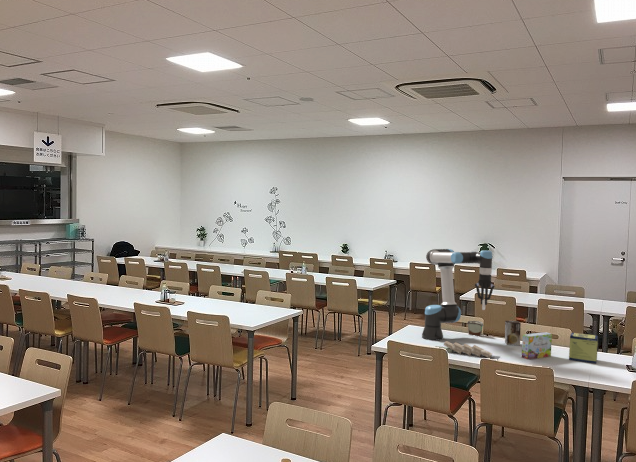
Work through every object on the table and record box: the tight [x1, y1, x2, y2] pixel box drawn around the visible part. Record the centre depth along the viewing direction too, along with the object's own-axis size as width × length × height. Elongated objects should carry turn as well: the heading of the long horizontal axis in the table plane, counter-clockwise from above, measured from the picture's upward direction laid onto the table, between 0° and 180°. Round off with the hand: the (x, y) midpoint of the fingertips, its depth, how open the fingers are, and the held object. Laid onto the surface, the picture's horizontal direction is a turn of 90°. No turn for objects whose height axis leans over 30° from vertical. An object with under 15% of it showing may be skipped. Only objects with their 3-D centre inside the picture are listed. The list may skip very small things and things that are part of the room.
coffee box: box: [504, 320, 521, 346], centre depth 368 cm, size 9×6×16 cm
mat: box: [447, 351, 501, 361], centre depth 336 cm, size 31×11×1 cm, turn 61°
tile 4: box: [443, 340, 462, 354], centre depth 342 cm, size 2×5×12 cm
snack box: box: [521, 331, 553, 360], centre depth 335 cm, size 21×6×15 cm, turn 117°
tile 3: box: [452, 341, 472, 355], centre depth 339 cm, size 2×5×12 cm
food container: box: [466, 320, 484, 338], centre depth 395 cm, size 12×6×10 cm, turn 47°
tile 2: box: [462, 343, 482, 357], centre depth 336 cm, size 2×5×12 cm
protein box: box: [568, 332, 599, 365], centre depth 331 cm, size 10×16×16 cm
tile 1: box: [471, 344, 493, 358], centre depth 333 cm, size 2×5×12 cm
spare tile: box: [434, 345, 454, 353], centre depth 345 cm, size 2×5×12 cm
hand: (483, 309), depth 348 cm, fingers closed
